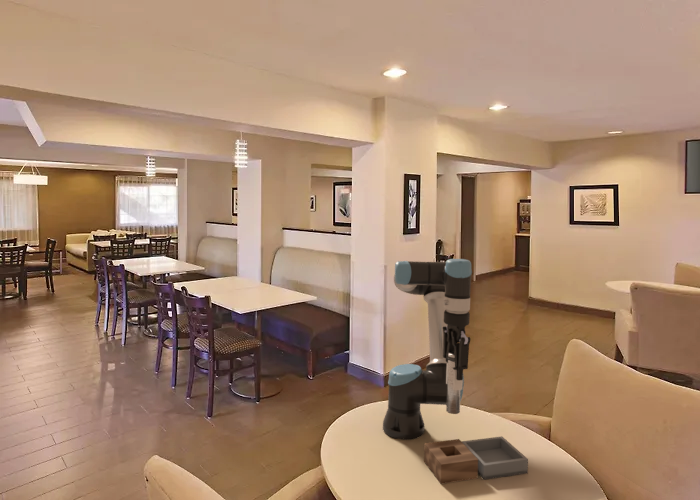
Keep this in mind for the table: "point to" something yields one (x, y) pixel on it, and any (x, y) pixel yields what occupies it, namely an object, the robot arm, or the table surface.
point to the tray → (497, 457)
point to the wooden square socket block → (450, 461)
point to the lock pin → (452, 395)
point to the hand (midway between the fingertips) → (454, 386)
